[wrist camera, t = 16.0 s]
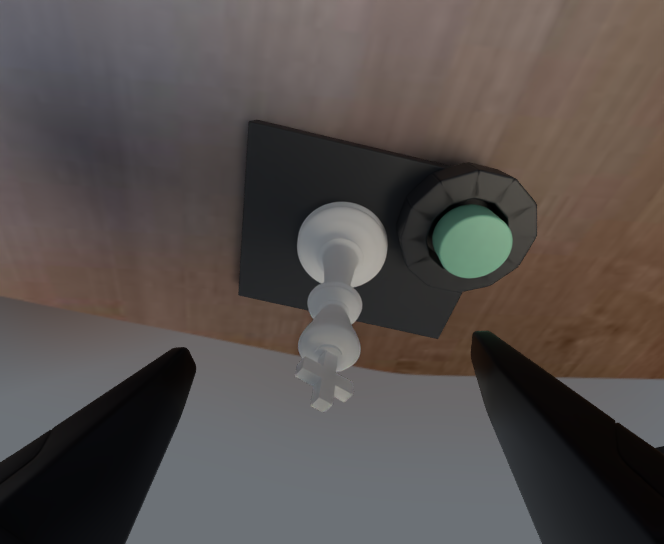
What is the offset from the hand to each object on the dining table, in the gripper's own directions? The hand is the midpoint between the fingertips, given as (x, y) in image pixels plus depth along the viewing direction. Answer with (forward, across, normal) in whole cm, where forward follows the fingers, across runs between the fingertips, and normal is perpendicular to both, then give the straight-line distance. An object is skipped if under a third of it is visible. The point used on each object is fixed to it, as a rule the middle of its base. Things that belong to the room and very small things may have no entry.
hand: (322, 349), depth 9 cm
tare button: (+7, -6, 0) cm, 9 cm away
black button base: (+9, -1, 0) cm, 9 cm away
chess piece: (+8, 0, 0) cm, 8 cm away
